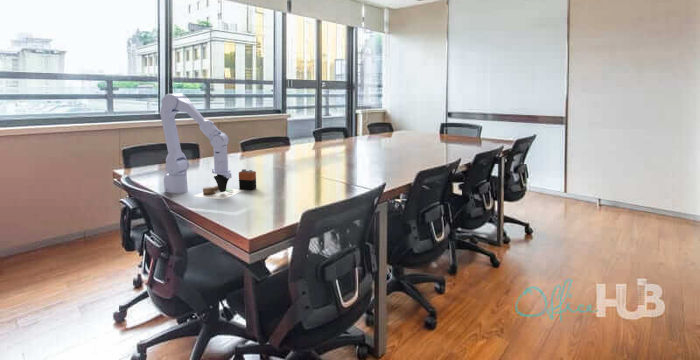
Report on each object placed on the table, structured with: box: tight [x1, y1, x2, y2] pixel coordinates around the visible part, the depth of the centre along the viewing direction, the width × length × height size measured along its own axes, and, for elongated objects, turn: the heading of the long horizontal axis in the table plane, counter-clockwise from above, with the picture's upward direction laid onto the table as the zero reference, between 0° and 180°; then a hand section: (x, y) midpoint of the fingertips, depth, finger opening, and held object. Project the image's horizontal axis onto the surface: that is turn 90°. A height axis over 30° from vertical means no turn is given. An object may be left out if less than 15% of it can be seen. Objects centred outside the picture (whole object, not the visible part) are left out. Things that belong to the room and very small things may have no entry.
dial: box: [202, 184, 219, 195], centre depth 192 cm, size 13×5×2 cm, turn 156°
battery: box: [238, 168, 257, 191], centre depth 197 cm, size 4×7×10 cm, turn 77°
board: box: [194, 187, 245, 200], centre depth 190 cm, size 15×17×1 cm
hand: (222, 191), depth 189 cm, fingers closed
